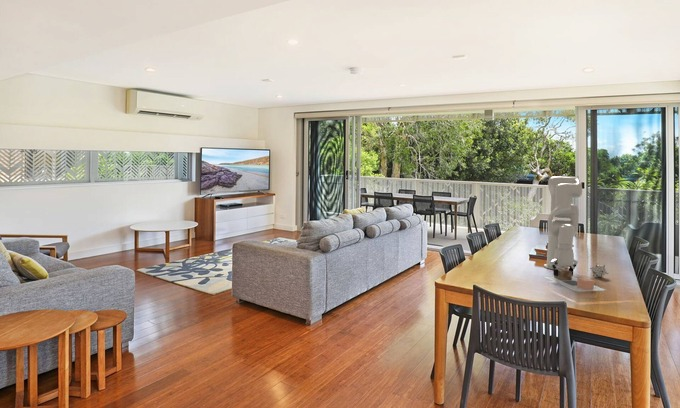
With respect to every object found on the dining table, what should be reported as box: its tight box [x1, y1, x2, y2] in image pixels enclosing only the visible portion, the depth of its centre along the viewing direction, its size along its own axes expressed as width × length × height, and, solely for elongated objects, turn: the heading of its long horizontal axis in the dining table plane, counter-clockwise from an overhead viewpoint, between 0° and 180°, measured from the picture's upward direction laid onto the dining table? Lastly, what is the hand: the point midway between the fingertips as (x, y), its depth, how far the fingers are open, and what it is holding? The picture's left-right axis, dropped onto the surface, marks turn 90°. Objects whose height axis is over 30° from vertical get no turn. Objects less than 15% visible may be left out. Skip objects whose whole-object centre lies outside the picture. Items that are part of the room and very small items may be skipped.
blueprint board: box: [543, 276, 606, 292], centre depth 237 cm, size 18×28×1 cm, turn 9°
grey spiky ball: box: [589, 263, 609, 279], centre depth 254 cm, size 9×8×10 cm
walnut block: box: [553, 268, 573, 281], centre depth 246 cm, size 6×6×5 cm
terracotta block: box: [577, 277, 595, 290], centre depth 228 cm, size 6×6×5 cm
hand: (563, 275), depth 246 cm, fingers open, 9 cm apart
